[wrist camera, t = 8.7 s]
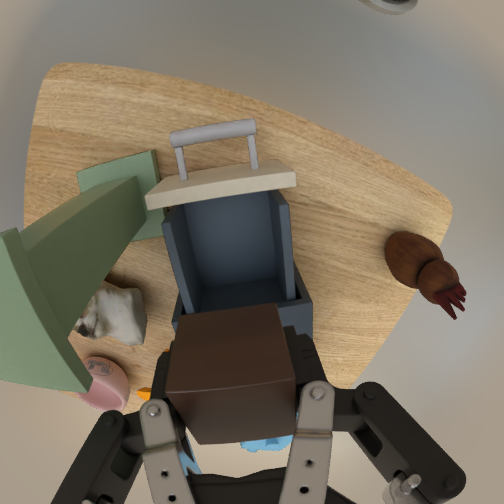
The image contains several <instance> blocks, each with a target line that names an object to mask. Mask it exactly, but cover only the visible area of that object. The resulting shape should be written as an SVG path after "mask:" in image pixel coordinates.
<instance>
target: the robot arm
mask: <svg viewBox="0 0 504 504" xmlns="http://www.w3.org/2000/svg"><path fill="white" fill-rule="evenodd" d="M382 1H385V2H387V3H391V4H404V3H406V2H408V1H410V0H382ZM283 331H284V334H285V338H286V342H287V346H288V350H289V354H290V358H291V362H292V366H293V370H294V373H295V377H296V408H297V412H298V416H297V422H296V428H295V432H294V433H293V437H292V443H291V448H290V453H289V458H288V463H287V467H281V468H275V469H267V470H262V471H259V472H256V473H253V474H250V475H247V476H244V477H240V478H234V477H228V476H222V475H216V474H202V472H201V470H200V469H199V467H198V465H197V462H196V460H195V457H194V454H193V451H192V448H191V445H190V442H189V439H188V436H187V433H186V432H185V431H186V425H185V423H184V422H183V420H182V419H181V417H180V416H179V414H178V413H177V411H176V409H175V408H174V406H173V404H172V403H171V401H170V400H169V398H168V396H167V395H166V393H165V390H166V384H167V378H168V372H169V366H170V361H171V355H172V350H173V345H174V341H172V342H171V345H170V350H169V351H166V352H163V353H162V354H161V356H160V357H159V358H158V361H157V365H156V370H155V376H154V379H153V384H152V389H151V394H150V399H149V400H148V401H146V402H145V403H144V404H143V405H142V406H141V408H140V410H139V411H137V412H134V413H130V414H126V415H123V414H122V413H121V412H119V411H118V410H108V411H106V412H104V413H103V414H102V415H101V416H100V418H99V419H98V421H97V423H96V424H95V426H94V428H93V429H92V431H91V433H90V434H89V436H88V438H87V440H86V441H85V443H84V445H83V446H82V448H81V450H80V451H79V453H78V455H77V457H76V459H75V460H74V462H73V464H72V465H71V467H70V469H69V471H68V473H67V474H66V476H65V478H64V480H63V482H62V483H61V485H60V487H59V489H58V491H57V493H56V495H55V497H54V499H53V500H52V502H51V504H124V502H125V500H126V498H127V495H128V493H129V491H130V489H131V487H132V485H133V482H134V480H135V478H136V476H137V474H138V472H139V469H140V467H141V465H142V463H143V462H144V466H145V471H146V475H147V479H148V483H149V487H150V491H151V495H152V499H153V502H154V504H356V503H355V502H353V501H351V500H350V499H348V498H346V497H345V496H343V495H342V494H340V493H339V492H337V491H335V490H334V489H332V488H331V487H329V486H328V485H327V482H328V475H329V466H330V458H331V448H332V431H345V432H349V434H350V435H351V436H352V438H353V439H354V440H355V442H356V443H357V444H358V445H359V447H360V448H361V449H362V451H363V452H364V453H365V454H366V455H367V457H368V458H369V459H370V461H371V462H372V463H373V465H374V466H375V467H376V468H377V470H378V471H379V472H380V473H381V475H382V476H383V477H384V478H385V479H386V481H387V482H388V485H386V487H385V488H384V491H383V500H384V501H385V504H443V503H445V502H447V501H449V500H450V499H452V498H454V497H456V496H457V495H458V494H459V493H460V492H461V491H462V490H463V489H464V487H465V484H466V475H465V473H464V471H463V470H462V469H461V468H460V467H459V466H458V465H457V464H456V463H455V462H454V461H453V460H452V459H451V457H450V456H448V454H447V453H446V452H445V451H444V450H443V449H442V448H441V447H440V446H439V445H438V444H437V443H436V442H435V441H434V440H433V439H432V438H431V437H430V435H429V434H428V433H427V432H426V431H425V430H424V429H423V428H422V427H421V426H420V425H419V424H418V423H417V422H416V421H415V420H414V419H413V418H412V417H411V416H410V415H409V413H408V412H406V410H405V409H404V408H403V407H402V406H401V405H400V404H399V403H398V402H397V401H396V400H395V399H394V398H393V397H392V396H391V395H390V394H389V393H388V392H387V390H385V388H384V387H383V386H381V385H380V384H378V383H376V382H365V383H362V384H360V385H359V386H358V387H357V388H356V389H340V388H337V387H334V386H333V385H331V384H330V383H329V382H328V380H327V378H326V376H325V373H324V370H323V367H322V364H321V362H320V359H319V356H318V353H317V351H316V348H315V345H314V342H313V340H312V339H311V338H310V337H309V336H308V335H307V334H306V333H305V334H299V335H297V334H296V331H295V328H294V325H290V326H284V327H283Z"/></svg>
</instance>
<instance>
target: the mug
mask: <svg viewBox="0 0 504 504" xmlns="http://www.w3.org/2000/svg"><path fill="white" fill-rule="evenodd" d="M82 362H83V364H84V365H85V367H86V368H87V370H88V371H89V373H90V374H91V376H92V377H93V382H92V384H91V387H90V390H89V392H88V393H80V392H75V394H76V395H77V396H78V397H79V398H80V399H81V400H82V401H84V402H85V403H87V404H89V405H90V406H92V407H94V408H96V409H99V410H102V411H108V410H118V411H120V410H122V409H124V408H125V406H126V405H127V402H128V399H129V394H130V387H129V382H128V378H127V376H126V374H125V373H124V371H123V370H122V369H121V368H120V367H119V366H118V365H117V364H115V363H114V362H112V361H110V360H108V359H105V358H102V357H89V358H87V359H85V360H83V361H82Z"/></svg>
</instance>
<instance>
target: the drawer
mask: <svg viewBox="0 0 504 504" xmlns="http://www.w3.org/2000/svg"><path fill="white" fill-rule="evenodd" d="M256 133H257V129H256V122H255V119H254V118H251V119H243V120H236V121H229V122H223V123H216V124H210V125H205V126H199V127H194V128H189V129H184V130H179V131H174V132H171V133H170V143H171V146H172V148H175V153H176V158H177V164H178V169H179V174H178V175H173V176H168V177H165V178H164V179H163V180H162V181H161V182H159V183H158V184H157V185H156V186H155V187H154V188H153V189H152V190H150V191H149V192H148V193H147V194H146V195H145V196H144V197H145V201H146V205H147V209H148V210H153V209H158V208H163V207H168V206H172V208H171V209H170V211H169V212H168V214H167V215H166V217H165V218H164V220H163V222H162V223H161V227H162V231H163V235H164V239H165V243H166V246H167V250H168V254H169V257H170V261H171V264H172V268H173V271H174V275H175V278H176V281H177V285H178V288H179V291H180V295H181V298H182V301H183V304H184V307H185V310H186V313H187V314H195V313H203V312H211V311H219V310H226V309H233V308H240V307H247V306H254V305H260V304H267V303H273V302H276V303H281V302H287V301H293V300H296V298H295V280H294V265H293V250H292V237H291V224H290V213H289V204H288V203H287V201H286V200H285V199H284V197H283V196H282V195H281V193H280V192H279V190H278V189H282V188H290V187H296V186H297V183H296V172H295V171H294V170H293V169H291V168H290V167H288V166H287V165H285V164H284V163H283V162H281V161H280V160H278V159H273V160H265V161H258V158H257V151H256V143H255V136H254V135H255V134H256ZM240 136H247V141H248V149H249V156H250V162H249V163H242V164H235V165H229V166H223V167H216V168H210V169H205V170H199V171H194V172H188V173H187V169H186V163H185V157H184V152H183V147H182V146H187V145H192V144H197V143H203V142H208V141H214V140H220V139H226V138H233V137H240Z"/></svg>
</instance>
